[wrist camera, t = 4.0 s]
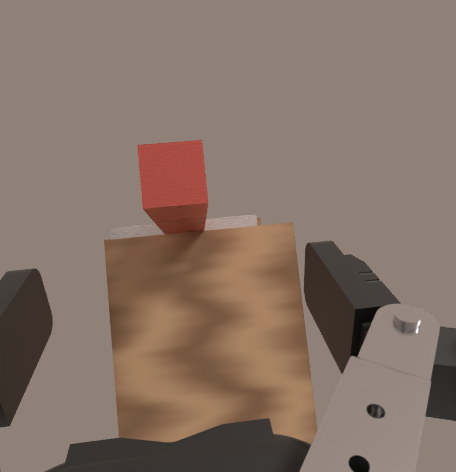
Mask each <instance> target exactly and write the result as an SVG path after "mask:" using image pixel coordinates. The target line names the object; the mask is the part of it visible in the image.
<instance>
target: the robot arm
mask: <svg viewBox="0 0 456 472" xmlns="http://www.w3.org/2000/svg"><path fill="white" fill-rule="evenodd" d="M304 275H305V276H304V294H305V300H306V303H307V306H308V308H309V310H310V312H311V314H312V316H313V318H314V320H315V322H316V324H317V326H318V328H319V330H320V332H321V334H322V336H323V338H324V340H325V342H326V344H327V346H328V348H329V350H330V352H331V354H332V356H333V358H334V359H335V361H336V363H337V365H338V367H339V369H340V371H341V373H342V377H341V379H340V381H339V383H338V386H337V388H336V390H335V393H334V395H333V397H332V399H331V402H330V404H329V406H328V408H327V411H326V413H325V415H324V417H323V420H322V422H321V424H320V427H319V429H318V431H317V433H316V435H315V438H314V440H313V442H312V444H309V443H307V442H305V441H302V440H299V439H296V438H293V437H289V436H285V435H280V434H273V431H272V427H271V423H270V419H269V418H265V419H258V420H250V421H243V422H235V423H227V424H221V425H218V426H216V427H213V428H210V429H208V430H205V431H202V432H200V433H197V434H194V435H191V436H189V437H186V438H183V439H181V440H178V441H175V442H159V441H149V440H139V439H129V438H114V439H106V440H99V441H91V442H84V443H76V444H70V447H69V450H68V454H67V458H66V461H65V463H63V464H60V465H58V466H56V467H54V468H52V469H49V470H47V471H45V472H415V471H416V465H417V459H418V454H419V448H420V442H421V437H422V431H423V426H424V420H425V416H427V417H433V418H440V419H447V420H453V421H456V328H446V327H440V326H439V323H438V321H437V320H436V319H435V318H434V316H432V315H431V314H430V313H428V312H427V311H425V310H423V309H420V308H418V307H414V306H411V305H406V304H401V303H400V302H399V301H398V300H397V299H396V297H395V296H394V295H393V294H392V293H391V292H390V291H389V289H388V288H387V287H386V286H385V285H384V284H383V283H382V281H379V278H378V277H377V276H376V275H375V274H374V273H373V272H372V270H371V269H370V268H369V267H368V266H367V264H366V263H365V262H364V261H362V260H360V259H358V258H356V257H354V256H353V255H351V254H350V255H343V253H342V252H341V251H340V250H339V249H338V247H337V246H336V245H335V243H334V242H333V241H322V242H312V243H308V244H307V245H306V249H305V274H304ZM52 324H53V323H52V313H51V309H50V306H49V303H48V299H47V295H46V292H45V289H44V285H43V282H42V278H41V275H40V273H39V271H38V270H37V269H25V270H16V271H8V272H6V274H5V275H4V276H3V277H2V279H1V280H0V427H7V426H10V424H11V422H12V420H13V417H14V415H15V413H16V411H17V408H18V406H19V404H20V402H21V399H22V397H23V395H24V393H25V391H26V388H27V386H28V384H29V382H30V379H31V377H32V375H33V373H34V370H35V368H36V366H37V364H38V361H39V359H40V357H41V355H42V352H43V350H44V348H45V346H46V343H47V341H48V339H49V337H50V335H51V331H52ZM0 472H1V470H0Z"/></svg>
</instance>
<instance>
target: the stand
mask: <svg viewBox="0 0 456 472" xmlns="http://www.w3.org/2000/svg"><path fill="white" fill-rule="evenodd" d="M104 245H105V259H106V272H107V285H108V298H109V310H110V311H109V312H110V325H111V337H112V350H113V364H114V377H115V390H116V403H117V417H118V429H119V438H129V439H139V440H149V441H159V442H175V441H178V440H181V439H183V438H186V437H189V436H191V435H194V434H197V433H200V432H202V431H205V430H208V429H210V428H213V427H216V426H218V425H221V424H227V423H235V422H243V421H250V420H258V419H265V418H269V419H270V423H271V427H272V431H273V434H280V435H285V436H289V437H293V438H296V439H299V440H302V441H305V442H307V443H309V444H312V442H313V440H314V438H315V435H316V433H317V424H316V415H315V407H314V399H313V390H312V382H311V373H310V364H309V356H308V347H307V339H306V330H305V323H304V313H303V305H302V296H301V288H300V279H299V271H298V262H297V254H296V245H295V237H294V228H293V223H281V224H271V225H261V220H260V218H257V226H249V227H238V228H228V229H217V230H206V231H196V232H185V233H175V234H164V235H153V236H143V237H132V238H121V239H111V240H104Z"/></svg>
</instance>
